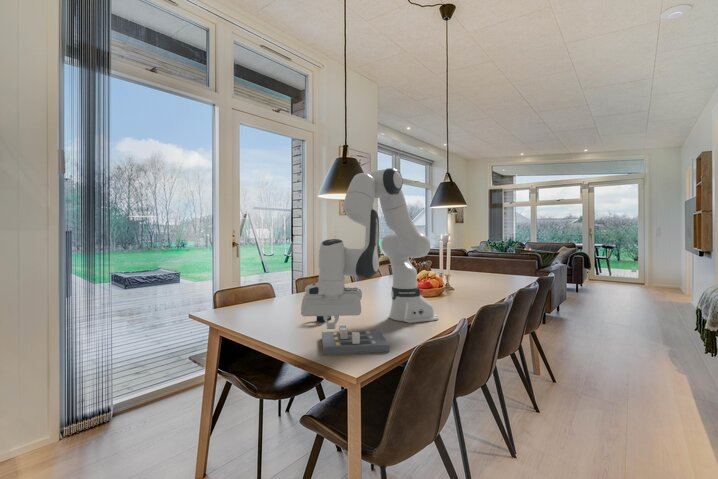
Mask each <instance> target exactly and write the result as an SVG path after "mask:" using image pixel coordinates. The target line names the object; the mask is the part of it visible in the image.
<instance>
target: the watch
mask: <svg viewBox="0 0 718 479" xmlns="http://www.w3.org/2000/svg"><path fill="white" fill-rule="evenodd" d="M331 320H332V316H328V319H327V321H328V322H329V321H331ZM316 322H319V323H324V324H326V322H325V321H324V318H323V316H316Z"/></svg>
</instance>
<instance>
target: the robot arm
mask: <svg viewBox="0 0 718 479" xmlns="http://www.w3.org/2000/svg"><path fill="white" fill-rule="evenodd" d="M403 181H404V180H403V176H402V174H401V172H400V171H399V170H398V169H396V168H390V167H389V168H386V169H376V170H373V171H370V172H368V173H366V172H361V173H357V174H355V175H354V176H353V178H352V179H351V181H350V183H349V185H348V188H347V191H346V194H345V197H344V201H343V211H344V213H345V215H346V216H347V217H348V218H349V219H350V220H351V221H353V222H355V223H357V224H359V225H362V226H364V227H365V236H364V237H365V239H364V247H362V248H349V247H345V246H344V245H345V244H344V241H343V240H341V239H338V238H331V239H326V240H323V241H321V243H320V246H319V251H318V270H319V274H318V278H317V279H318V281H317V282H315V283H311V284H308V285H306V286H305V287H304V295H303V296H302V300H301V306H300V307H301V308H300V315H301V316H302V317H317V316H323V318H324V321H325V324H326V330H335V329H336V325H337V322H338V321H339V320H340V317H341V316H342V317H344V316H345V317H346V316H347V317H348V316H360V315H361V314H362V305H361V300H362V298H363V291H362V290H361V289H360V288H358V287H345V286H346V285H345V281H346V280H345V279H346V278H345V276H346V277H347V276H349V277H358V278H363V279H371V278H372V277H373V276H375V275H376V274H377V273H378V271H379V269H380V259H379V257H380V256H379V255H380V254H379V244H380V242H379V240H380V218H379V215H378V214H379V213H378V212H377V210H375V209H374V202H375V199H379V204H380V208H381V211H382V214H383V217H384V221H385V224H386V226H387V227H388V228H389V229H391V230H392V231H393V233H389V234H386V235H384V237H383V238H382V240H381V249H382V251H383V253H384V254H385V255H386V256H387V258H388V260H389V262H390V265H391V271H392V287H391V306H390V312H389V316H388V318H390V319H391V320H393V321H398V322H405V323H410V324H412V323H421V322H431V321H433V322H434V321H439V315H438V314H437V313H435V312H434V308H433V305H432V303H431V302H429V301H428V300H427V298H425V297H424V296H422V295H423V294H424V293H425V289H423V288H419V287H418V286H417V285H418V272H417V271H418V270H417V269H416V267H414V266H413V264H412V262H411V261H410V258H412V259H417V258H419V259H420V258H424V257H426V256H428V255H429V252H430V250H431V242H430V239H429V237H428V236H426V235H425V234H424V233H422V232H421V231H420V229H418V228H417V226H416V224H415V223H414V221H413V220H412V217H411V215H410V212H409V209H408V205H407V202H406V199H405V195H404V192H403V190H402V187H403V183H404V182H403ZM328 316H331V317H334V320H333V322H329V321H327V319H328Z"/></svg>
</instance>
